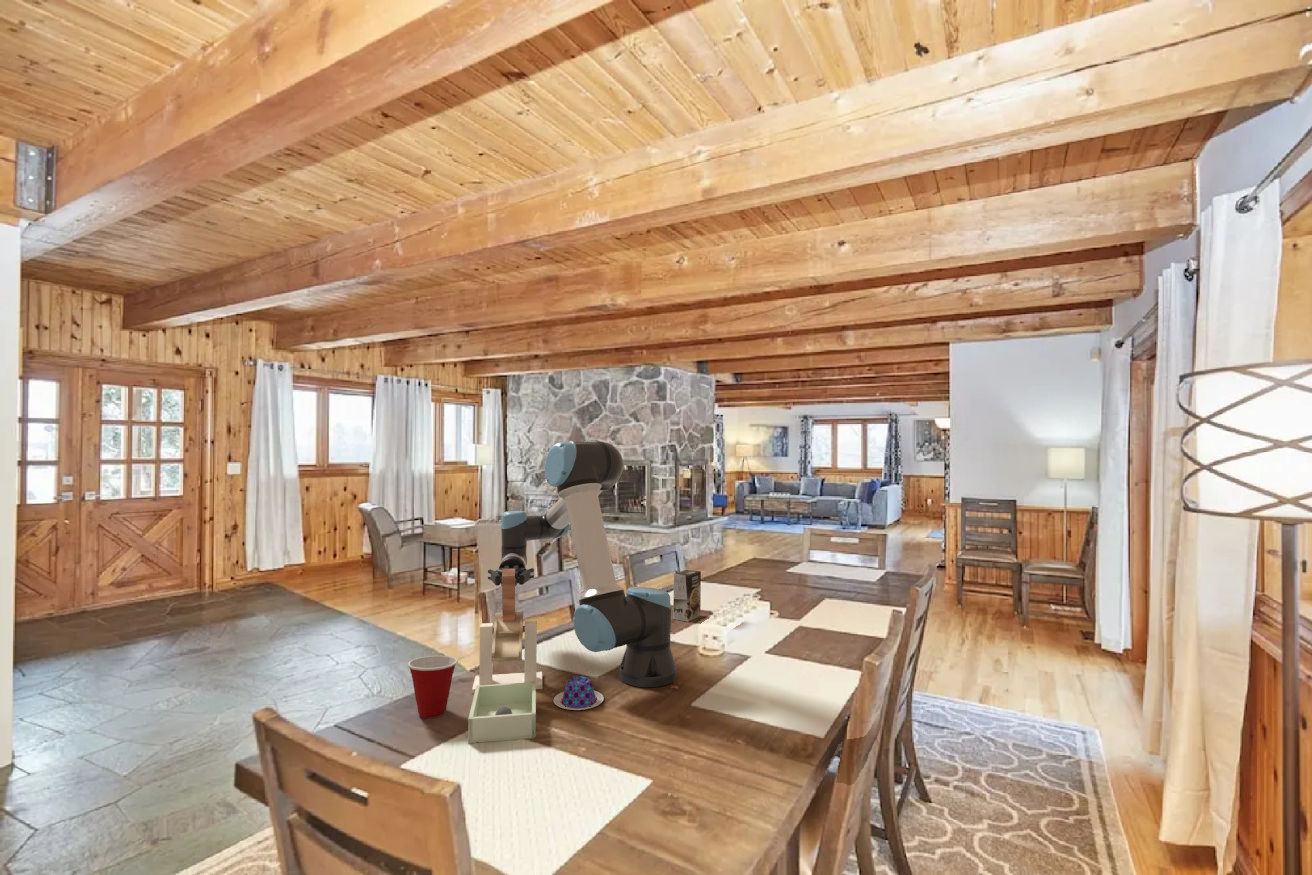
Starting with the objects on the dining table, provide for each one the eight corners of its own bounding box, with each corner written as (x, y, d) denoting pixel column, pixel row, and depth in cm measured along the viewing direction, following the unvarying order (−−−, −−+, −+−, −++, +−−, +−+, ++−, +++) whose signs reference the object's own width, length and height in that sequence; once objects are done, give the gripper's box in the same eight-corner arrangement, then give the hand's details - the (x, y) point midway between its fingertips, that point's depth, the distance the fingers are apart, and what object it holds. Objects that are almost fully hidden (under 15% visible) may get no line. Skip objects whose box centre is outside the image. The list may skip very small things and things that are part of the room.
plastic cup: (465, 703, 147) (465, 652, 147) (445, 724, 136) (445, 669, 136) (421, 701, 148) (421, 650, 148) (397, 721, 137) (398, 667, 137)
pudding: (582, 717, 141) (582, 694, 141) (542, 704, 147) (543, 682, 147) (613, 699, 151) (614, 677, 151) (575, 688, 157) (575, 667, 157)
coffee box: (688, 622, 214) (688, 575, 214) (672, 619, 217) (672, 573, 217) (701, 616, 221) (701, 570, 222) (685, 613, 225) (686, 568, 225)
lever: (495, 616, 161) (494, 567, 154) (523, 615, 162) (523, 567, 156) (491, 661, 146) (490, 610, 140) (521, 660, 148) (521, 609, 141)
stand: (475, 679, 161) (476, 619, 161) (542, 675, 165) (542, 616, 165) (472, 693, 153) (472, 630, 153) (542, 688, 156) (542, 626, 156)
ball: (515, 705, 136) (515, 723, 135) (504, 704, 138) (504, 722, 137) (503, 708, 133) (503, 726, 132) (491, 707, 135) (491, 725, 134)
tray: (476, 707, 145) (476, 685, 145) (535, 702, 147) (535, 681, 147) (468, 743, 128) (468, 718, 128) (535, 737, 130) (535, 713, 130)
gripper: (535, 580, 182) (534, 600, 159) (489, 582, 180) (481, 602, 157) (535, 555, 182) (534, 570, 159) (489, 556, 180) (481, 572, 157)
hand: (507, 586), depth 158 cm, fingers closed
